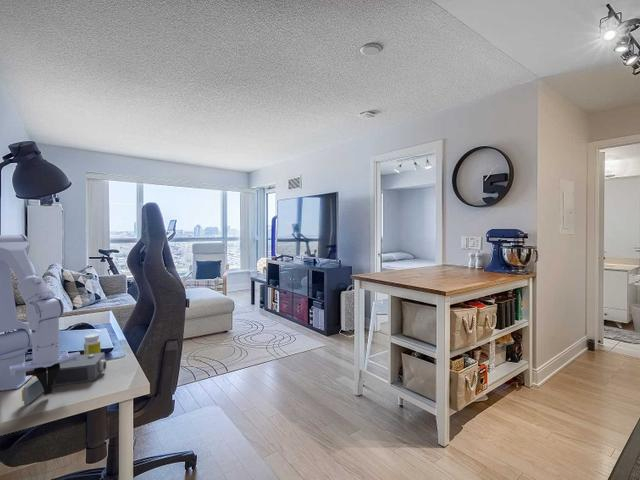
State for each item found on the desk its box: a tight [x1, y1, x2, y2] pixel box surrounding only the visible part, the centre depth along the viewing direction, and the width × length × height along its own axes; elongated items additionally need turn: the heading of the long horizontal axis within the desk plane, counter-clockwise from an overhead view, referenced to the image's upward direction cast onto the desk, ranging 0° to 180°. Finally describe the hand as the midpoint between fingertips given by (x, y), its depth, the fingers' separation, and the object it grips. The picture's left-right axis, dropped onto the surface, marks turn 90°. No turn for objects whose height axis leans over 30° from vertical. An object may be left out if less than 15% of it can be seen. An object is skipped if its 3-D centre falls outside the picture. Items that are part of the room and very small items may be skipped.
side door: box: [21, 373, 48, 406], centre depth 91 cm, size 10×2×4 cm, turn 13°
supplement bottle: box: [83, 333, 102, 355], centre depth 116 cm, size 5×5×8 cm
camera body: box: [53, 351, 107, 387], centre depth 103 cm, size 13×10×6 cm
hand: (47, 393), depth 90 cm, fingers closed
